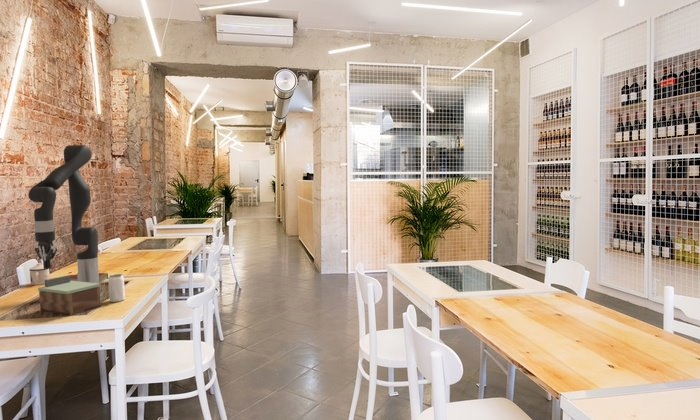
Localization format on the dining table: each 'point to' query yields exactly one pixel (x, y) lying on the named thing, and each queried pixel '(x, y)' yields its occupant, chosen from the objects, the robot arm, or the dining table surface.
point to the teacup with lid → (38, 274)
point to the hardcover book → (101, 277)
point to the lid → (66, 285)
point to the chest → (70, 301)
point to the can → (116, 288)
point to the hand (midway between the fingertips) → (47, 268)
